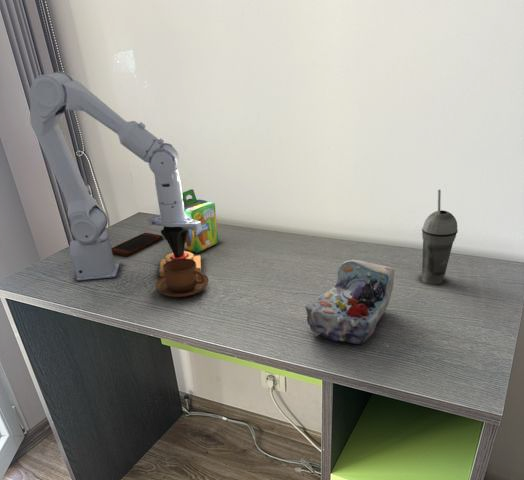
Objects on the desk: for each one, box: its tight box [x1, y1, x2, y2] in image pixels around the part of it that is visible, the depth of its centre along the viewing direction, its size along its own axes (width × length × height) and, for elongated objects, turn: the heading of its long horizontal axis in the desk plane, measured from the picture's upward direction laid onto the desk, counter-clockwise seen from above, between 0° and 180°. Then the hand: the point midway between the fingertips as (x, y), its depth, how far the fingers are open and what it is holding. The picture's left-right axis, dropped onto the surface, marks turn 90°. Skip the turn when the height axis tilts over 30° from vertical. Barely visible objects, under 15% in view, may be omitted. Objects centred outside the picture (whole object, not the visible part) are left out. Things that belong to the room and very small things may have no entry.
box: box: [158, 250, 202, 278], centre depth 123 cm, size 10×8×3 cm
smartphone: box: [111, 232, 164, 257], centre depth 139 cm, size 7×1×15 cm
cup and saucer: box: [155, 259, 209, 298], centre depth 112 cm, size 12×12×6 cm
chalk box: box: [182, 188, 220, 254], centre depth 133 cm, size 9×9×15 cm
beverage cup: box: [421, 189, 458, 285], centre depth 106 cm, size 7×7×20 cm
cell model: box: [305, 259, 395, 345], centre depth 94 cm, size 13×11×20 cm
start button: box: [171, 253, 187, 260], centre depth 123 cm, size 4×4×2 cm
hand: (179, 255), depth 122 cm, fingers closed, pressing on start button
